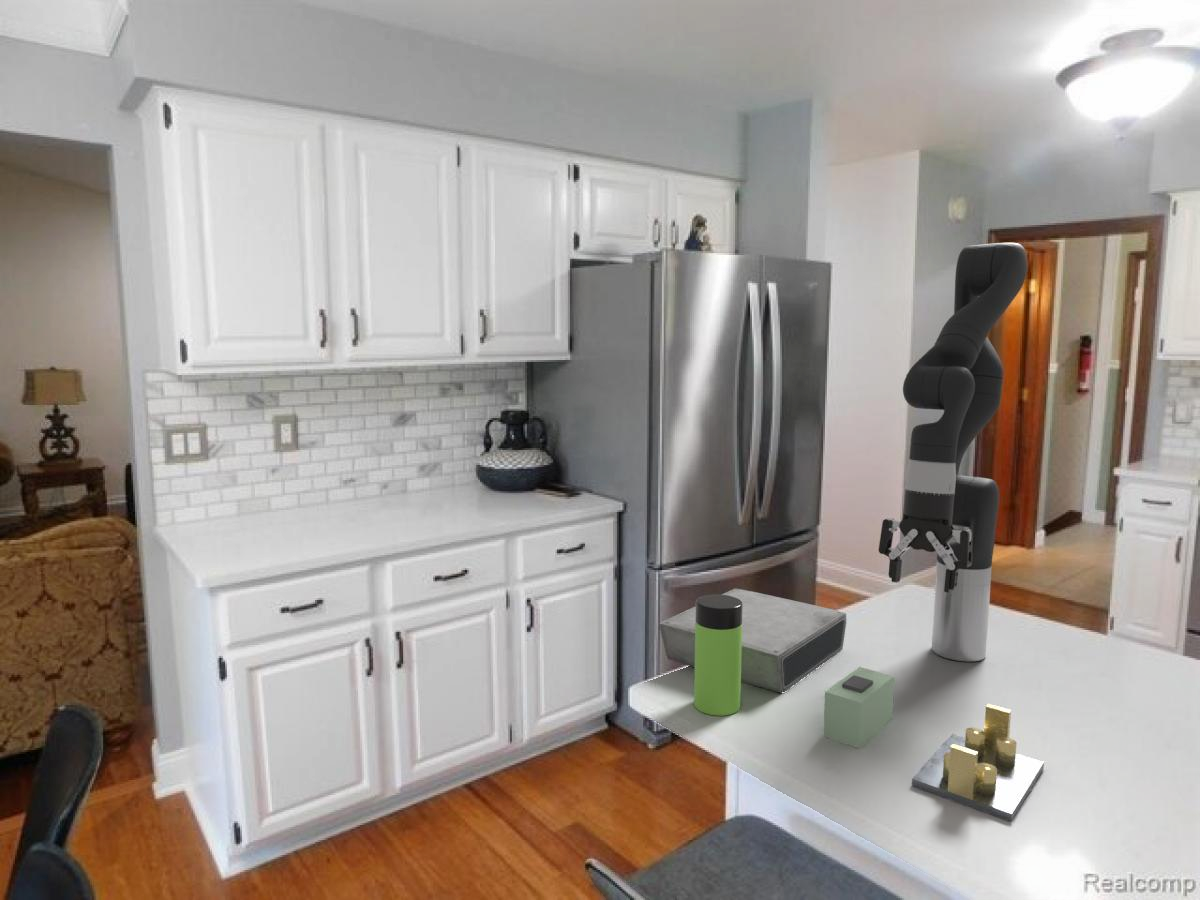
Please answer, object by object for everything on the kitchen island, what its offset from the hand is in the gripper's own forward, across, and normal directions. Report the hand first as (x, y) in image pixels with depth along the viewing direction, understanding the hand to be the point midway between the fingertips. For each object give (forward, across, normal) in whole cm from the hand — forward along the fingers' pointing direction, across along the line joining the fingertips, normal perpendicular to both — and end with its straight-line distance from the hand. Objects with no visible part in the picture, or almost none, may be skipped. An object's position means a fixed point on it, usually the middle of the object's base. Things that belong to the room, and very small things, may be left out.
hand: (921, 586), depth 132 cm
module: (+19, +2, +18) cm, 26 cm away
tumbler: (+20, +22, +26) cm, 39 cm away
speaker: (+18, +28, +3) cm, 33 cm away
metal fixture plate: (+20, -16, +21) cm, 33 cm away
